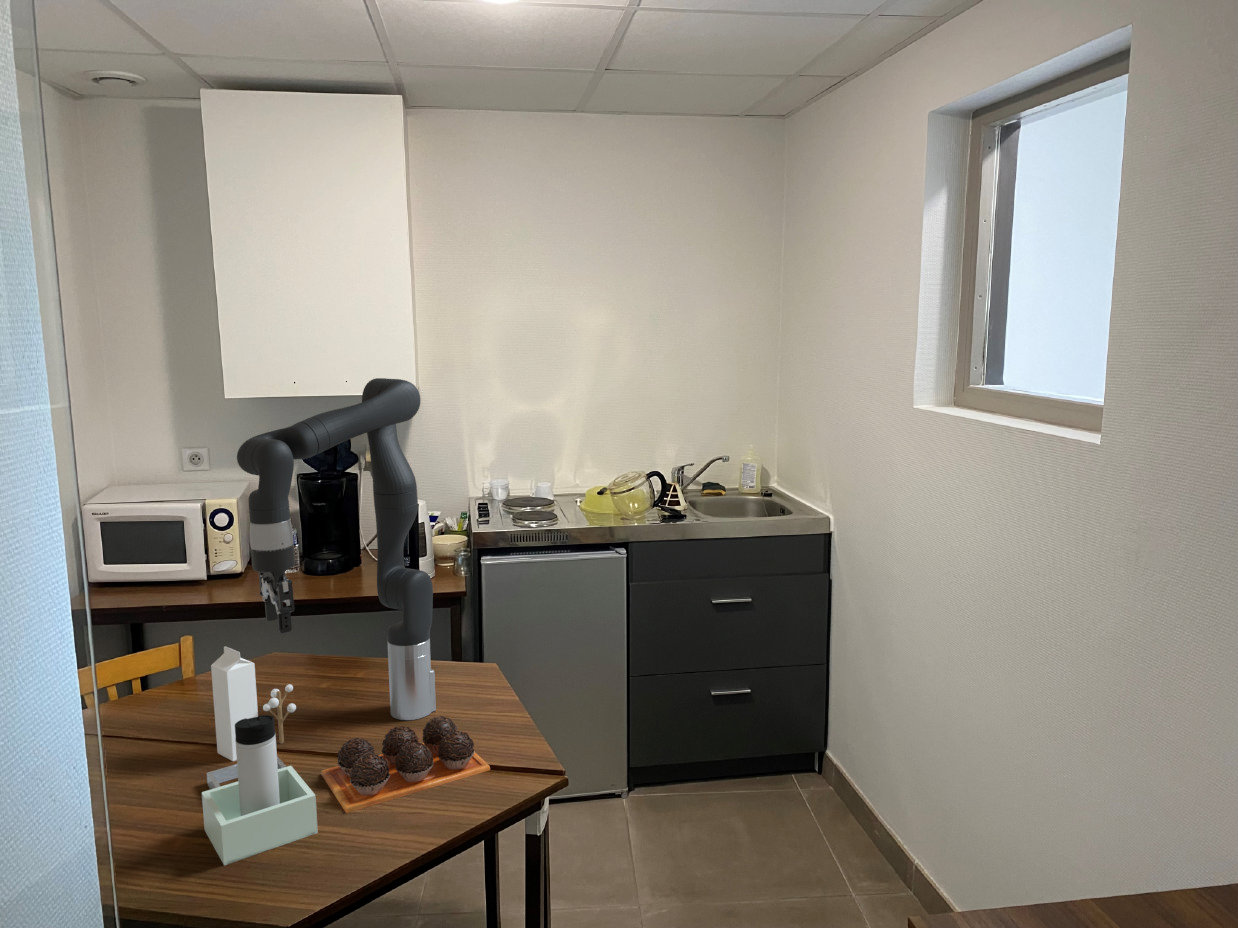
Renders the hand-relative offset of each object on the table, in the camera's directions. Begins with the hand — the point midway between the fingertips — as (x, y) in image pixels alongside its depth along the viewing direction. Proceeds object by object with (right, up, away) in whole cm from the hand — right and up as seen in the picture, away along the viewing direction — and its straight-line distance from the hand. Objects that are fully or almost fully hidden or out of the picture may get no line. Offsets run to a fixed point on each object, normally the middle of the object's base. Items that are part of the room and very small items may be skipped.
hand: (278, 625), depth 166 cm
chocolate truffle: (+24, -30, +3) cm, 38 cm away
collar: (-4, -30, -2) cm, 30 cm away
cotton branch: (-5, -28, +16) cm, 32 cm away
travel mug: (+4, -32, -17) cm, 36 cm away
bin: (+4, -32, -17) cm, 37 cm away
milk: (-13, -28, +11) cm, 33 cm away
